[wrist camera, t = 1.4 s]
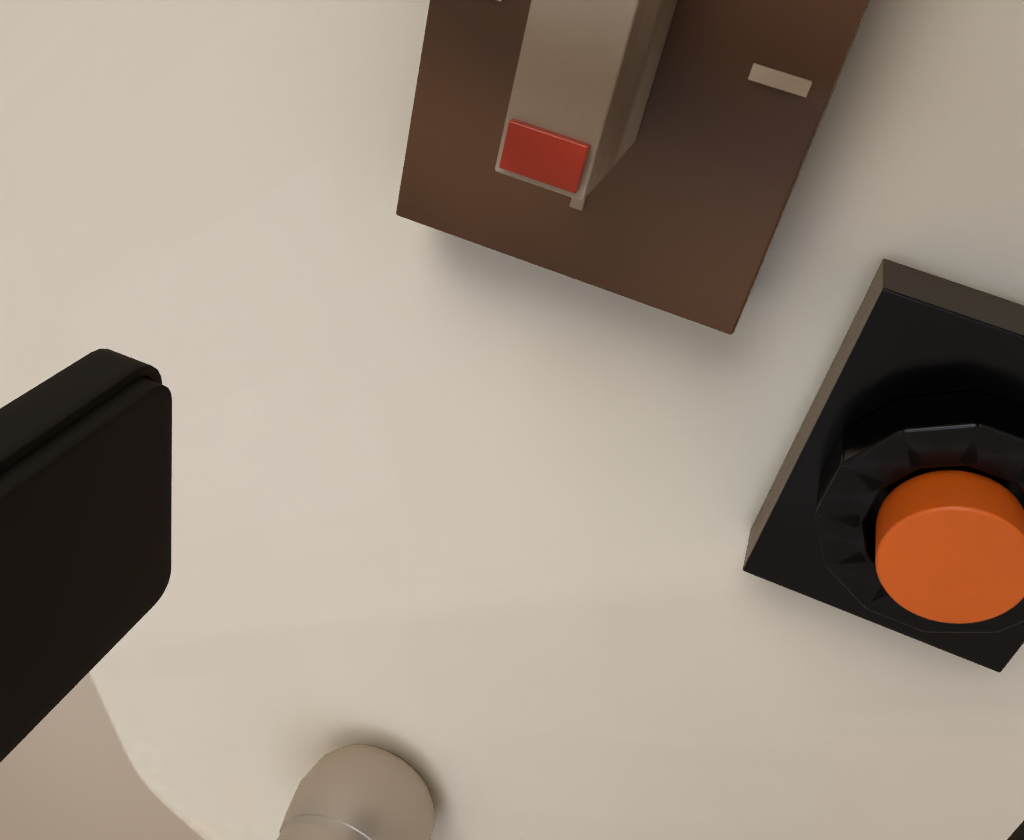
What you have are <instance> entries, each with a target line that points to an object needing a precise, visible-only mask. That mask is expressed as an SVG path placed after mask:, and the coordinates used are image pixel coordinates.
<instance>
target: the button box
mask: <svg viewBox="0 0 1024 840" xmlns="http://www.w3.org/2000/svg"><path fill="white" fill-rule="evenodd" d="M941 470H959V471H967V472H972V473H976V474H979V475H983V476H985V477H987V478H990V479H992V480H994V481H996V482H997V483H999V484H1001V485H1002V486H1004V487H1005V488H1006V489H1008V490H1009V491H1010V492H1011V493H1012V494H1013V495H1014V496H1015V497H1016V498H1017V500H1018V501H1019V502H1020V504H1021V506H1022V507H1023V509H1024V306H1023V305H1020V304H1017V303H1014V302H1011V301H1008V300H1005V299H1002V298H999V297H996V296H993V295H991V294H988V293H985V292H982V291H979V290H976V289H973V288H970V287H967V286H964V285H961V284H958V283H955V282H952V281H949V280H946V279H943V278H940V277H937V276H934V275H931V274H928V273H925V272H922V271H919V270H916V269H913V268H910V267H907V266H904V265H901V264H899V263H896V262H893V261H890V260H887V259H883V260H882V262H881V264H880V266H879V269H878V271H877V273H876V275H875V277H874V279H873V281H872V283H871V285H870V287H869V289H868V291H867V293H866V295H865V297H864V299H863V301H862V303H861V305H860V307H859V309H858V311H857V313H856V316H855V318H854V320H853V322H852V324H851V326H850V328H849V330H848V332H847V334H846V336H845V338H844V340H843V342H842V344H841V346H840V348H839V350H838V352H837V354H836V356H835V358H834V360H833V363H832V365H831V367H830V369H829V371H828V373H827V375H826V377H825V379H824V381H823V383H822V385H821V387H820V389H819V391H818V393H817V395H816V397H815V399H814V401H813V403H812V405H811V407H810V410H809V412H808V414H807V416H806V418H805V420H804V422H803V424H802V426H801V428H800V430H799V432H798V434H797V436H796V438H795V440H794V442H793V444H792V446H791V448H790V450H789V452H788V454H787V457H786V459H785V461H784V463H783V465H782V467H781V469H780V471H779V473H778V475H777V477H776V479H775V481H774V483H773V485H772V487H771V489H770V491H769V493H768V495H767V497H766V499H765V502H764V504H763V506H762V508H761V510H760V512H759V514H758V516H757V518H756V520H755V522H754V524H753V526H752V528H751V531H750V536H749V541H748V546H747V551H746V556H745V561H744V566H743V571H745V572H748V573H750V574H753V575H755V576H758V577H760V578H763V579H765V580H768V581H771V582H773V583H776V584H778V585H781V586H783V587H786V588H788V589H791V590H793V591H796V592H798V593H801V594H803V595H806V596H808V597H811V598H813V599H816V600H818V601H821V602H823V603H826V604H828V605H831V606H833V607H836V608H838V609H841V610H843V611H846V612H848V613H851V614H854V615H856V616H859V617H861V618H864V619H866V620H869V621H871V622H874V623H876V624H879V625H881V626H884V627H886V628H889V629H891V630H894V631H896V632H899V633H901V634H904V635H906V636H909V637H911V638H914V639H916V640H919V641H921V642H924V643H926V644H929V645H931V646H934V647H937V648H939V649H942V650H944V651H947V652H949V653H952V654H954V655H957V656H959V657H962V658H964V659H967V660H969V661H972V662H974V663H977V664H979V665H982V666H984V667H987V668H989V669H992V670H994V671H997V672H1001V671H1002V670H1003V668H1004V667H1005V666H1006V664H1007V663H1008V662H1009V661H1010V659H1011V658H1012V657H1013V656H1014V654H1015V653H1016V652H1017V650H1018V649H1019V648H1020V647H1021V645H1022V644H1023V643H1024V598H1023V599H1022V600H1021V601H1020V602H1019V603H1018V604H1017V605H1015V606H1014V607H1013V608H1011V609H1010V610H1008V611H1007V612H1005V613H1003V614H1001V615H999V616H997V617H994V618H991V619H988V620H984V621H980V622H974V623H962V624H957V623H944V622H938V621H934V620H929V619H927V618H924V617H921V616H918V615H916V614H914V613H912V612H910V611H908V610H907V609H905V608H903V607H902V606H901V605H899V604H898V603H897V602H896V601H895V600H893V599H892V598H891V597H890V595H889V594H888V593H887V592H886V590H885V589H884V588H883V586H882V584H881V583H880V580H879V578H878V575H877V571H876V564H875V546H876V519H877V515H878V511H879V509H880V507H881V505H882V503H883V501H884V500H885V499H886V497H887V496H888V495H889V494H890V493H891V492H892V491H893V490H894V489H895V488H896V487H898V486H899V485H900V484H902V483H903V482H905V481H907V480H909V479H911V478H913V477H915V476H918V475H921V474H924V473H928V472H933V471H941Z"/></svg>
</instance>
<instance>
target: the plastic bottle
mask: <svg viewBox="0 0 1024 840" xmlns="http://www.w3.org/2000/svg"><path fill="white" fill-rule="evenodd" d="M434 825H435V815H434V809H433V804H432V799H431V795H430V792H429V790H428V788H427V786H426V784H425V783H424V781H423V780H422V778H421V777H420V776H419V775H418V774H417V773H416V772H415V771H414V769H413V768H412V767H410V766H409V765H408V764H407V763H405V762H404V761H403V760H401V759H400V758H398V757H396V756H395V755H393V754H391V753H389V752H387V751H385V750H382V749H379V748H376V747H373V746H368V745H349V746H345V747H342V748H340V749H337V750H335V751H332V752H330V753H328V754H326V755H324V756H323V757H322V758H321V759H320V760H319V761H318V762H317V763H316V765H315V766H314V767H313V768H312V769H311V770H310V771H309V772H308V774H307V775H306V776H305V777H304V778H303V779H302V780H301V782H300V784H299V786H298V788H297V790H296V792H295V795H294V797H293V799H292V801H291V803H290V806H289V808H288V810H287V812H286V815H285V817H284V820H283V823H282V826H281V829H280V835H279V837H278V838H277V840H431V836H432V832H433V829H434Z"/></svg>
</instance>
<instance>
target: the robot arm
mask: <svg viewBox="0 0 1024 840" xmlns="http://www.w3.org/2000/svg"><path fill="white" fill-rule="evenodd" d="M171 476H172V397H171V392H170V390H169V388H167V387H166V386H164V385H162V380H161V375H160V373H159V372H158V370H157V369H156V368H154V367H153V366H151V365H148V364H146V363H143V362H140V361H138V360H135V359H133V358H130V357H127V356H125V355H122V354H120V353H117V352H114V351H112V350H109V349H98V350H96V351H94V352H91V353H90V354H88V355H86V356H85V357H83V358H81V359H80V360H78V361H77V362H75V363H73V364H72V365H70V366H69V367H67V368H65V369H64V370H62V371H60V372H59V373H57V374H56V375H54V376H52V377H51V378H49V379H48V380H46V381H44V382H43V383H41V384H39V385H38V386H36V387H35V388H33V389H31V390H30V391H28V392H26V393H25V394H23V395H22V396H20V397H18V398H17V399H15V400H14V401H12V402H10V403H9V404H7V405H5V406H4V407H2V408H1V409H0V762H1V761H2V760H3V759H4V758H5V757H6V756H7V755H8V754H9V753H10V752H11V751H12V750H13V749H14V748H15V747H16V746H17V745H18V744H19V743H20V742H21V741H22V739H24V738H25V737H26V736H27V735H28V734H29V733H30V731H32V730H33V728H34V727H35V726H36V725H37V724H38V723H39V722H40V721H41V720H42V719H43V718H44V717H45V716H46V715H47V714H48V713H49V712H50V711H51V710H52V709H53V708H54V707H55V706H56V705H57V704H58V703H59V702H60V701H61V700H62V699H63V698H64V697H65V696H66V695H67V694H68V693H69V692H70V691H71V690H72V689H73V688H74V687H75V686H76V685H77V684H78V682H79V681H80V680H81V679H82V678H83V677H84V676H85V675H86V674H87V673H88V672H89V671H90V670H91V669H92V668H93V667H94V666H95V665H96V664H97V663H98V662H99V661H100V660H101V659H102V658H103V657H104V656H105V655H106V654H107V653H108V652H109V651H110V650H111V649H112V648H113V647H114V646H115V645H116V644H117V643H118V642H119V641H120V640H121V639H122V638H123V637H124V636H125V635H126V633H127V632H128V631H129V630H130V629H131V628H132V627H133V626H134V625H135V624H136V623H137V622H138V621H139V620H140V619H141V618H142V617H143V616H144V615H145V614H146V613H147V612H148V611H149V610H150V609H151V608H152V607H153V606H154V605H155V604H156V603H157V601H158V600H159V599H160V597H161V596H162V594H163V593H164V591H165V589H166V587H167V584H168V582H169V578H170V574H171ZM1007 840H1024V821H1023V822H1022V823H1021V824H1020V826H1019V827H1018V828H1017V829H1016V830H1015V831H1014V832H1013V834H1012V835H1011V836H1010V837H1009V838H1008V839H1007Z"/></svg>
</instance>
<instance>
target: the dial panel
mask: <svg viewBox="0 0 1024 840" xmlns="http://www.w3.org/2000/svg"><path fill="white" fill-rule="evenodd" d="M531 1H532V0H430V4H429V10H428V17H427V23H426V29H425V35H424V42H423V48H422V54H421V61H420V67H419V73H418V79H417V86H416V92H415V98H414V105H413V111H412V117H411V123H410V130H409V136H408V142H407V148H406V155H405V161H404V167H403V174H402V180H401V186H400V192H399V199H398V205H397V211H396V214H397V215H398V216H401V217H404V218H407V219H409V220H412V221H415V222H418V223H421V224H423V225H426V226H429V227H432V228H435V229H437V230H440V231H443V232H446V233H449V234H451V235H454V236H457V237H460V238H462V239H465V240H468V241H471V242H474V243H476V244H479V245H482V246H485V247H488V248H490V249H493V250H496V251H499V252H501V253H504V254H507V255H510V256H513V257H515V258H518V259H521V260H524V261H527V262H529V263H532V264H535V265H538V266H541V267H543V268H546V269H549V270H552V271H554V272H557V273H560V274H563V275H566V276H568V277H571V278H574V279H577V280H580V281H582V282H585V283H588V284H591V285H594V286H596V287H599V288H602V289H605V290H607V291H610V292H613V293H616V294H619V295H621V296H624V297H627V298H630V299H633V300H635V301H638V302H641V303H644V304H647V305H649V306H652V307H655V308H658V309H660V310H663V311H666V312H669V313H672V314H674V315H677V316H680V317H683V318H686V319H688V320H691V321H694V322H697V323H700V324H702V325H705V326H708V327H711V328H713V329H716V330H719V331H722V332H725V333H727V334H733V333H734V331H735V328H736V326H737V323H738V321H739V318H740V316H741V314H742V311H743V309H744V306H745V304H746V301H747V299H748V296H749V294H750V292H751V289H752V287H753V284H754V282H755V279H756V277H757V275H758V272H759V270H760V267H761V265H762V262H763V260H764V257H765V255H766V253H767V250H768V248H769V245H770V243H771V240H772V238H773V235H774V233H775V231H776V228H777V226H778V223H779V221H780V218H781V216H782V213H783V211H784V209H785V206H786V204H787V201H788V199H789V196H790V194H791V192H792V189H793V187H794V184H795V182H796V179H797V177H798V174H799V172H800V170H801V167H802V165H803V162H804V160H805V157H806V155H807V152H808V150H809V148H810V145H811V143H812V140H813V138H814V135H815V133H816V130H817V128H818V126H819V123H820V121H821V118H822V116H823V113H824V111H825V109H826V106H827V104H828V101H829V99H830V96H831V94H832V91H833V89H834V87H835V84H836V82H837V79H838V77H839V74H840V72H841V69H842V67H843V65H844V62H845V60H846V57H847V55H848V52H849V50H850V48H851V45H852V43H853V40H854V38H855V35H856V33H857V30H858V28H859V26H860V23H861V21H862V18H863V16H864V13H865V11H866V8H867V6H868V4H869V1H870V0H678V1H677V5H676V8H675V11H674V15H673V18H672V21H671V24H670V28H669V31H668V34H667V38H666V41H665V44H664V48H663V51H662V54H661V58H660V61H659V64H658V68H657V71H656V74H655V78H654V81H653V84H652V88H651V91H650V94H649V98H648V101H647V104H646V108H645V111H644V114H643V118H642V121H641V124H640V128H639V131H638V134H637V138H636V141H635V142H634V143H633V144H632V146H631V147H630V148H629V149H628V150H627V151H626V152H625V154H624V155H623V156H622V157H621V158H620V159H619V160H618V161H617V163H616V164H615V165H614V166H613V167H612V168H611V169H610V171H609V172H608V173H607V174H606V175H605V176H604V177H603V179H602V180H601V181H600V182H599V183H598V184H597V185H596V186H595V188H594V189H593V190H592V191H591V192H590V193H589V194H588V196H587V197H586V198H585V199H584V200H583V201H580V200H578V199H575V198H572V197H569V196H566V195H563V194H560V193H557V192H554V191H551V190H548V189H546V188H543V187H540V186H537V185H534V184H531V183H528V182H525V181H522V180H519V179H517V178H514V177H511V176H508V175H505V174H502V173H499V172H497V171H495V167H496V162H497V157H498V153H499V148H500V144H501V139H502V134H503V130H504V125H505V121H506V116H507V111H508V107H509V102H510V98H511V93H512V88H513V84H514V79H515V75H516V70H517V65H518V61H519V56H520V52H521V47H522V42H523V38H524V33H525V28H526V24H527V19H528V15H529V10H530V5H531Z"/></svg>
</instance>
